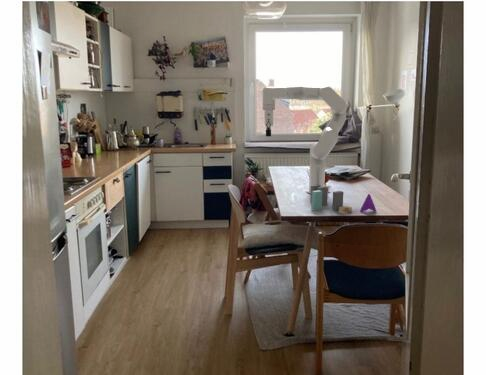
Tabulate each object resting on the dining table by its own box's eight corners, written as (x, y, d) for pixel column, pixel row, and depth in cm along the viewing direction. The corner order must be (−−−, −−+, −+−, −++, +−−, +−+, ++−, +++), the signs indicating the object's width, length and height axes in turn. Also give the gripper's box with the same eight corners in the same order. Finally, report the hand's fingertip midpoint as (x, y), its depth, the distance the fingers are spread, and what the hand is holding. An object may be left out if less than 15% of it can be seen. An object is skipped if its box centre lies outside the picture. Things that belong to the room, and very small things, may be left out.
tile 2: (317, 204, 248) (317, 187, 246) (324, 203, 251) (325, 186, 249) (320, 205, 246) (320, 188, 244) (327, 204, 249) (327, 187, 247)
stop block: (347, 211, 235) (348, 205, 234) (351, 212, 232) (351, 207, 231) (338, 212, 232) (339, 207, 231) (342, 213, 229) (343, 208, 229)
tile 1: (310, 202, 254) (310, 185, 252) (317, 201, 256) (317, 184, 254) (313, 203, 252) (313, 186, 250) (320, 202, 254) (320, 185, 252)
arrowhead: (366, 219, 235) (380, 206, 235) (368, 220, 234) (381, 206, 234) (355, 207, 233) (368, 193, 233) (356, 207, 231) (369, 194, 231)
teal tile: (311, 209, 239) (311, 191, 237) (318, 208, 241) (319, 190, 239) (314, 210, 236) (314, 192, 234) (321, 209, 239) (322, 191, 237)
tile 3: (332, 209, 237) (332, 191, 235) (339, 208, 240) (340, 190, 238) (335, 211, 235) (336, 192, 233) (342, 209, 237) (343, 191, 235)
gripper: (275, 108, 261) (274, 137, 265) (274, 107, 278) (274, 134, 282) (262, 108, 262) (262, 136, 265) (262, 107, 279) (262, 134, 282)
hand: (268, 135), depth 274 cm, fingers open, 9 cm apart
